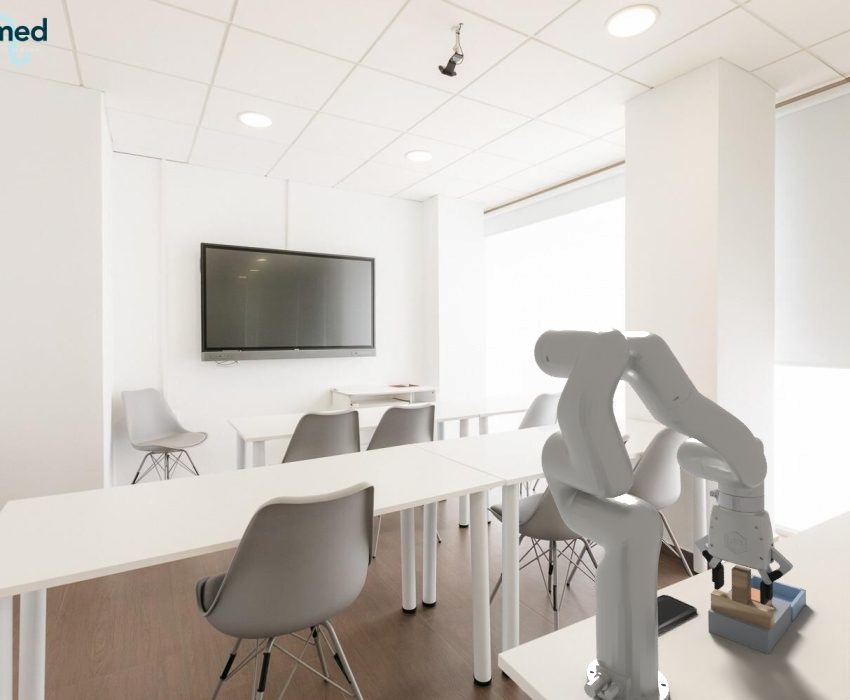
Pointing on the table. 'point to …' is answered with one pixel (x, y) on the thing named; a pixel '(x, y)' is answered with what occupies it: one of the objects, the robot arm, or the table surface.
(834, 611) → the table surface
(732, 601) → the scraper
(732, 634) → the gray rectangular block
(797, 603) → the tray
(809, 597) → the table surface
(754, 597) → the tile
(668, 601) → the phone
